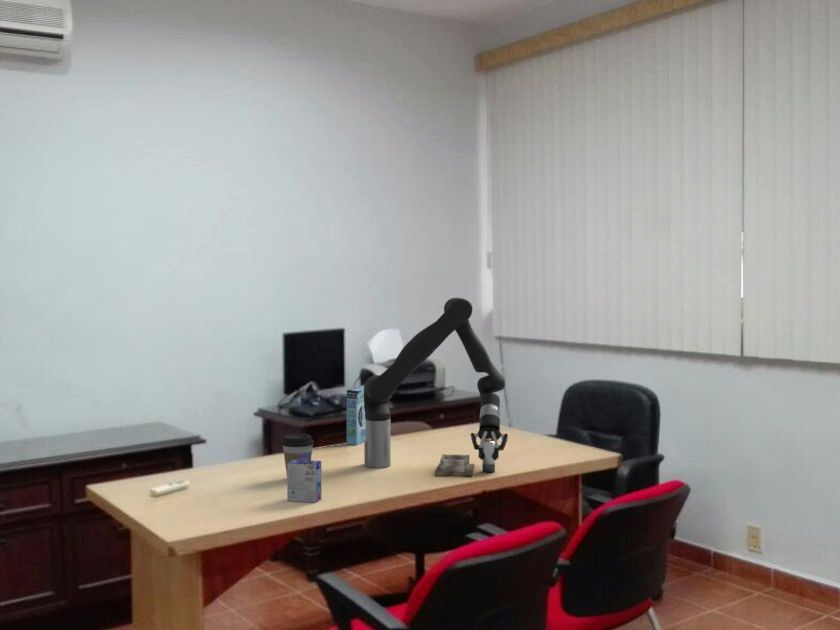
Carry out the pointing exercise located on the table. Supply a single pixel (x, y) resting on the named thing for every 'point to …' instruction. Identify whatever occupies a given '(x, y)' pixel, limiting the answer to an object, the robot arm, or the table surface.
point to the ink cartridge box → (304, 480)
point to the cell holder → (454, 466)
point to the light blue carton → (356, 416)
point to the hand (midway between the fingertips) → (488, 458)
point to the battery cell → (488, 456)
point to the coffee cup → (296, 446)
